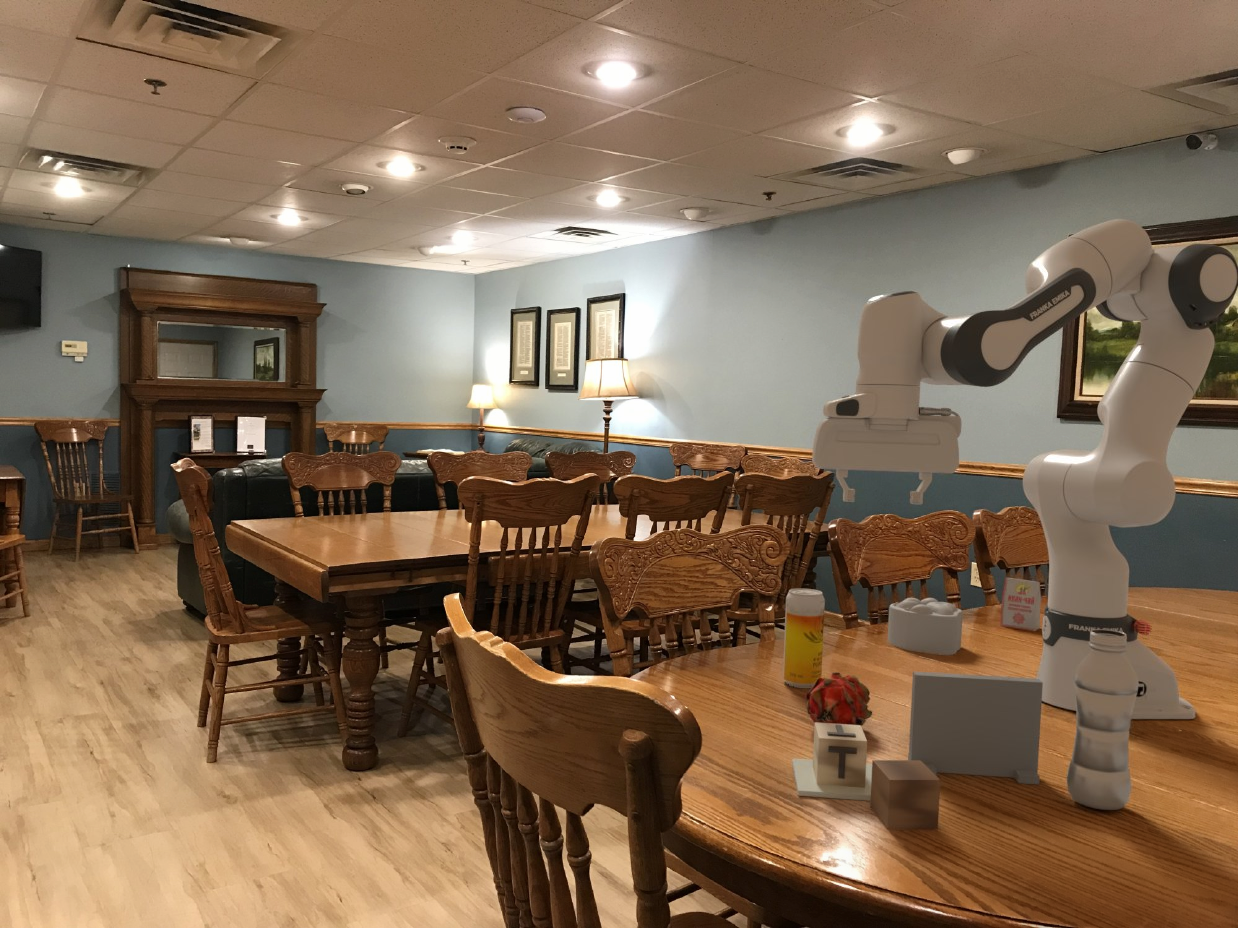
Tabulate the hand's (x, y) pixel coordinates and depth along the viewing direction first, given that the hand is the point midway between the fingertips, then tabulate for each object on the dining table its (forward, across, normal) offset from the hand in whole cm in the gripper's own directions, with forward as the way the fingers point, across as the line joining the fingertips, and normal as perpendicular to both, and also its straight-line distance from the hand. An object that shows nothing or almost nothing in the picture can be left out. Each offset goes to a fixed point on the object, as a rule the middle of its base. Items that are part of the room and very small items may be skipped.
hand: (882, 502), depth 136 cm
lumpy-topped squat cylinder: (+31, -16, -44) cm, 56 cm away
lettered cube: (+30, +8, +26) cm, 41 cm away
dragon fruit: (+31, +6, +8) cm, 33 cm away
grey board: (+31, -9, +20) cm, 38 cm away
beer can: (+31, +9, -14) cm, 35 cm away
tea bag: (+31, -40, -65) cm, 83 cm away
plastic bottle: (+31, -21, +28) cm, 47 cm away
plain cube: (+31, +2, +35) cm, 47 cm away
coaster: (+31, +8, +26) cm, 41 cm away
